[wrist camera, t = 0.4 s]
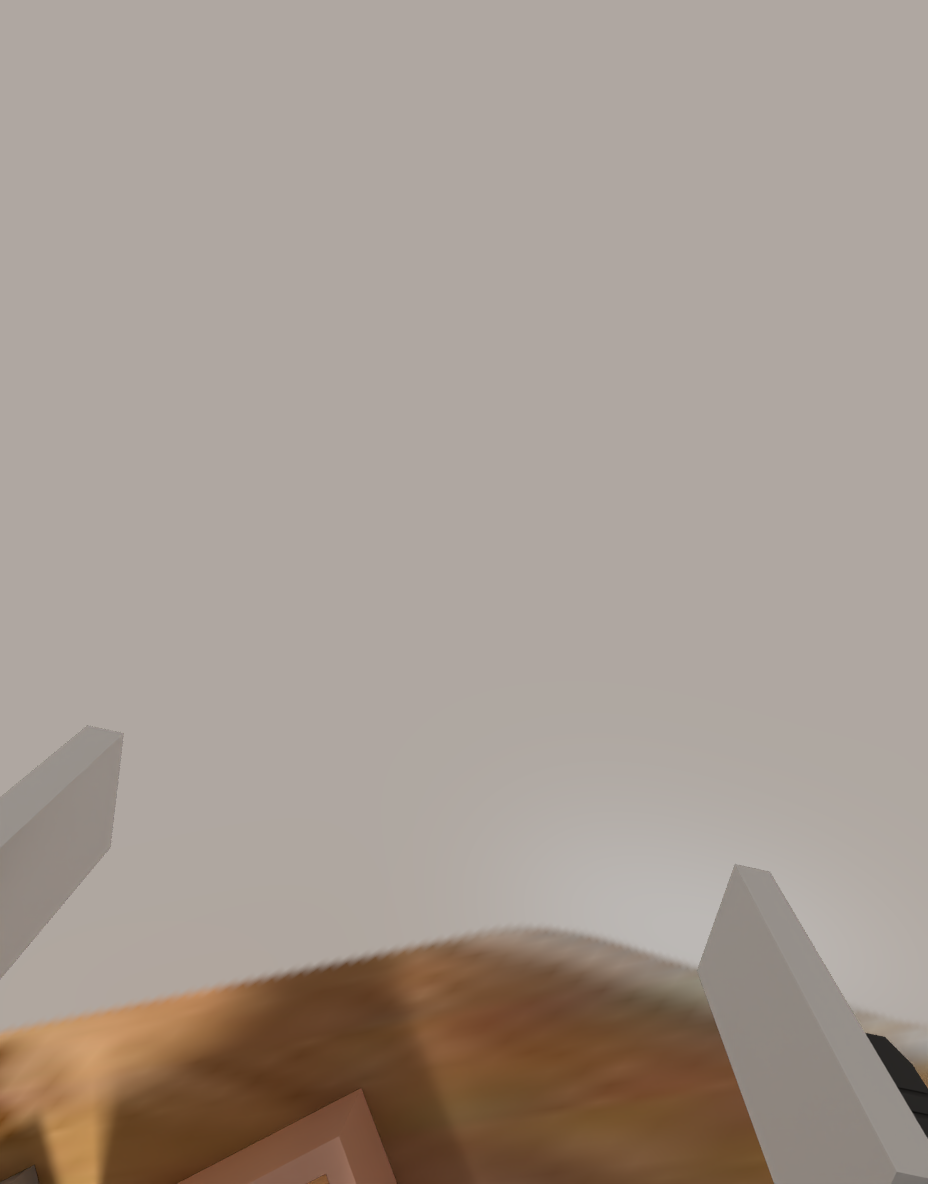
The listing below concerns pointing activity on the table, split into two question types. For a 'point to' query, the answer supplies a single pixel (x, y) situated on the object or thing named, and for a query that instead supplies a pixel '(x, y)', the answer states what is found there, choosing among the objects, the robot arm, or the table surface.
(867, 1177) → the robot arm
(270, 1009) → the table surface
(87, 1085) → the table surface
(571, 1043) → the table surface
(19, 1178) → the tray
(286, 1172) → the holder
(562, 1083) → the table surface
